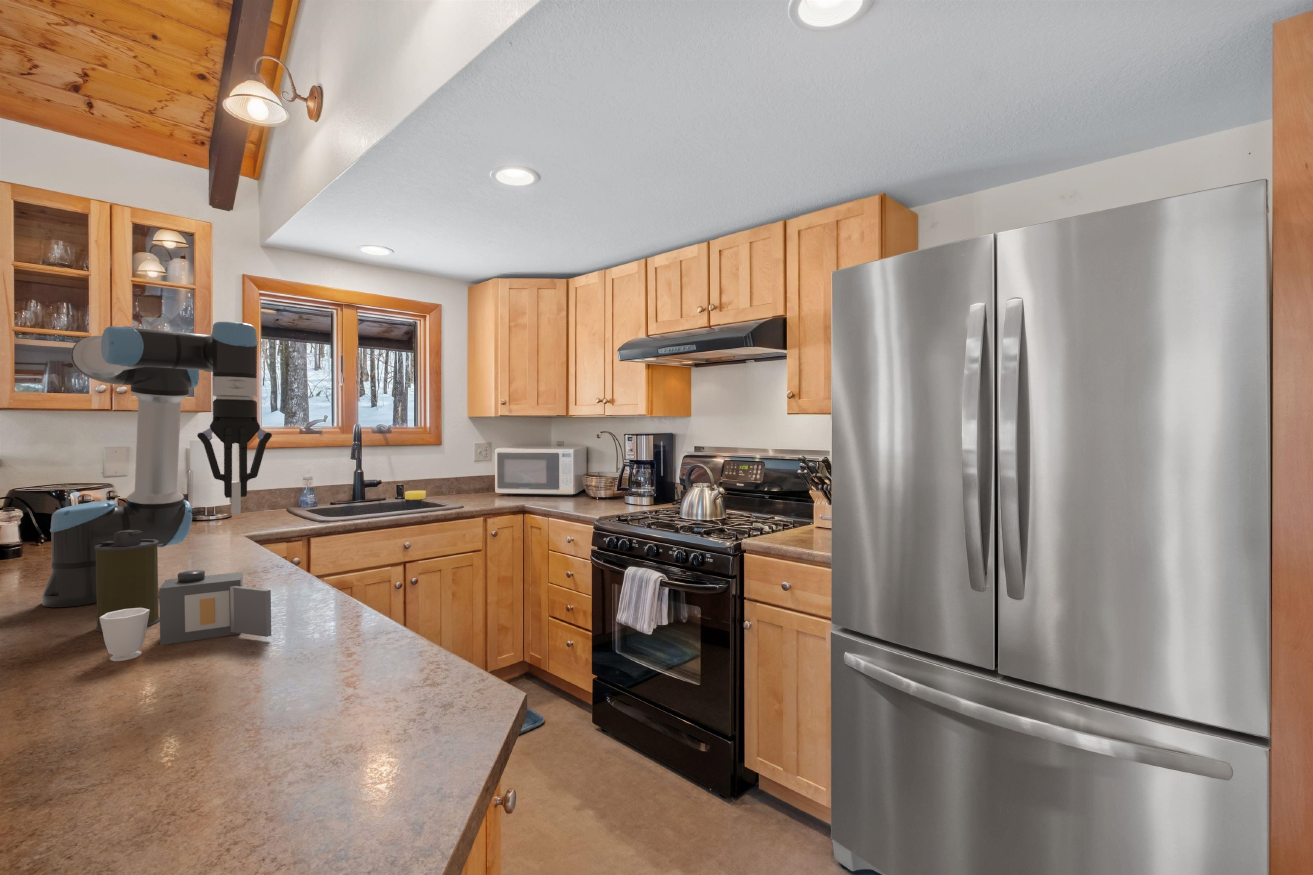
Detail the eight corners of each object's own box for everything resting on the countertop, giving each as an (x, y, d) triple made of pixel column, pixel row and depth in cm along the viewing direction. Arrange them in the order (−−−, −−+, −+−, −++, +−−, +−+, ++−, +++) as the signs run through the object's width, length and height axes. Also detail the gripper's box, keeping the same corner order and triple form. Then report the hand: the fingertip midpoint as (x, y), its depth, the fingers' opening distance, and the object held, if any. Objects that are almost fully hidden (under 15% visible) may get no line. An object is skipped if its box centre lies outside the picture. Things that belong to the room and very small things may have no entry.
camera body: (166, 633, 127) (165, 572, 126) (243, 622, 133) (242, 564, 133) (159, 645, 119) (158, 581, 119) (241, 634, 126) (240, 572, 126)
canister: (172, 617, 137) (171, 527, 137) (127, 633, 127) (126, 535, 126) (127, 616, 138) (126, 526, 138) (79, 631, 128) (77, 534, 127)
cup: (100, 667, 109) (99, 621, 109) (100, 651, 116) (99, 609, 116) (151, 657, 114) (150, 613, 113) (148, 643, 121) (147, 601, 121)
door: (265, 637, 121) (265, 591, 121) (229, 631, 124) (228, 587, 124) (272, 634, 123) (272, 589, 122) (236, 629, 126) (235, 585, 126)
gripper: (196, 397, 120) (197, 518, 121) (274, 399, 129) (275, 512, 129) (194, 397, 126) (195, 513, 127) (269, 399, 134) (270, 508, 135)
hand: (235, 512), depth 128 cm, fingers closed
